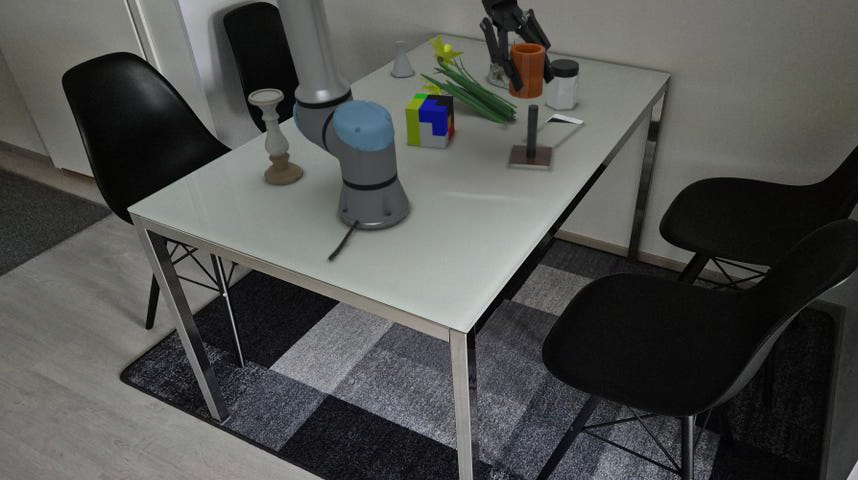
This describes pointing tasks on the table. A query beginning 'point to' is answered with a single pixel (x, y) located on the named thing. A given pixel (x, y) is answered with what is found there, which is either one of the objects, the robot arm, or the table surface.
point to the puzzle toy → (430, 120)
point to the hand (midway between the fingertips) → (535, 84)
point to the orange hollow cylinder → (528, 69)
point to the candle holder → (275, 139)
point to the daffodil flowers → (467, 87)
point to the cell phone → (564, 119)
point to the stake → (531, 144)
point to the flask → (401, 62)
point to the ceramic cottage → (501, 70)
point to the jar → (563, 84)
